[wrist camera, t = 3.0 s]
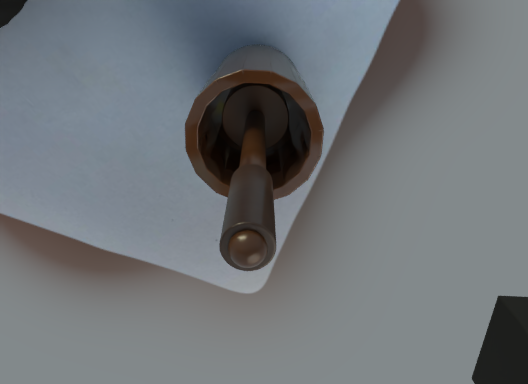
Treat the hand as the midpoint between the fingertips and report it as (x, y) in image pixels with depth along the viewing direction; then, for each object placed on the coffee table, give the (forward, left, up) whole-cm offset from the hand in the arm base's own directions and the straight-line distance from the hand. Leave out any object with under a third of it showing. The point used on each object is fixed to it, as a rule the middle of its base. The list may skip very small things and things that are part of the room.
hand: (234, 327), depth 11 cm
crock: (0, 0, -34) cm, 35 cm away
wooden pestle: (0, 0, -26) cm, 26 cm away
